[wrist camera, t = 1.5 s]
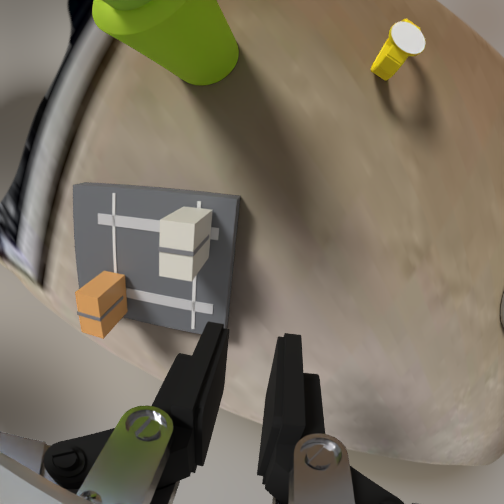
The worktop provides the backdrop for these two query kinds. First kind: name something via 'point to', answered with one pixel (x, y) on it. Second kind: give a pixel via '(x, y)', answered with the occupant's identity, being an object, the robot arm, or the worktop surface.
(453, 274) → the worktop surface
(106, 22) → the soap dispenser
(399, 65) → the watch
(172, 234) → the fader ivory
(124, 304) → the fader orange
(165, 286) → the mixer panel
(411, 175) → the worktop surface
